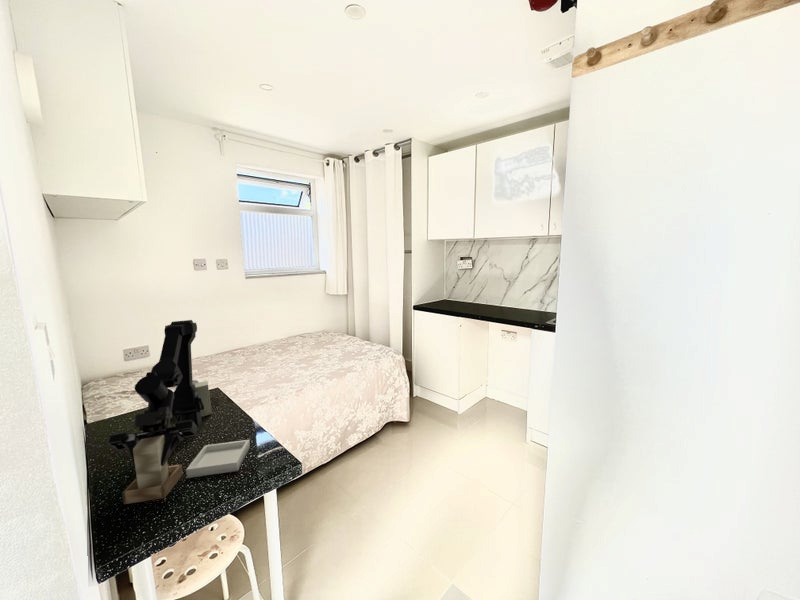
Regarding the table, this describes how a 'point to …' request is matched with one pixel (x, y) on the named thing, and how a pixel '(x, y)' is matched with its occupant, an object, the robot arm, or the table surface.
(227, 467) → the white tray
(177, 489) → the table surface
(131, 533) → the table surface
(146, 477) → the maple block
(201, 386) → the skincare box
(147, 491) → the oak collar
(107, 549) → the table surface
